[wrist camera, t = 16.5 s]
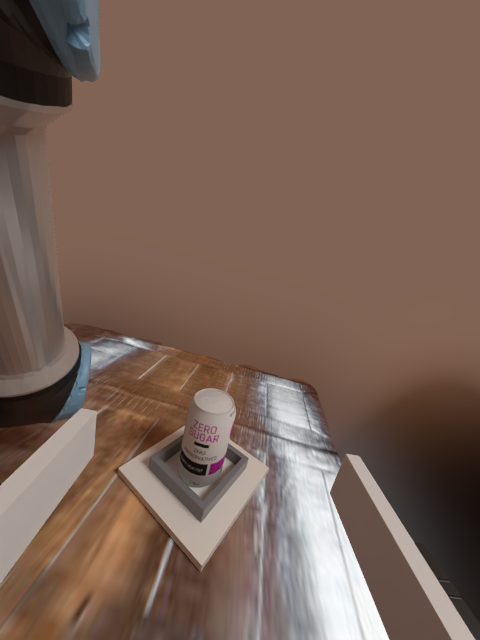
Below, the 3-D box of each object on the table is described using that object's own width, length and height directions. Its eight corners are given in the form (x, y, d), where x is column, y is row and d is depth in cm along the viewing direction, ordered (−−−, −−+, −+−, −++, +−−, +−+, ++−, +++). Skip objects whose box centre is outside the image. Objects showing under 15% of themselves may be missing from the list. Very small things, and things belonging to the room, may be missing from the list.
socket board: (117, 473, 40) (119, 456, 39) (197, 420, 56) (200, 408, 56) (200, 572, 30) (205, 552, 29) (267, 472, 47) (272, 458, 46)
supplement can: (215, 448, 48) (229, 386, 44) (225, 486, 41) (244, 415, 37) (175, 452, 45) (188, 386, 41) (179, 493, 38) (194, 417, 34)
